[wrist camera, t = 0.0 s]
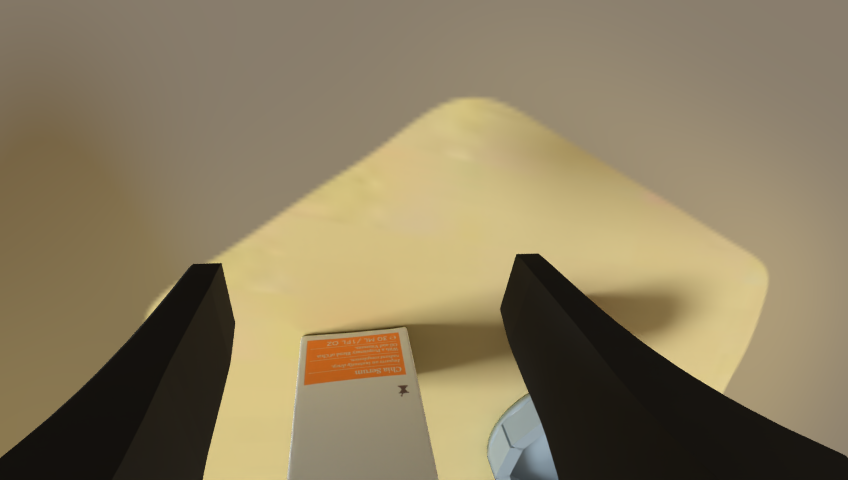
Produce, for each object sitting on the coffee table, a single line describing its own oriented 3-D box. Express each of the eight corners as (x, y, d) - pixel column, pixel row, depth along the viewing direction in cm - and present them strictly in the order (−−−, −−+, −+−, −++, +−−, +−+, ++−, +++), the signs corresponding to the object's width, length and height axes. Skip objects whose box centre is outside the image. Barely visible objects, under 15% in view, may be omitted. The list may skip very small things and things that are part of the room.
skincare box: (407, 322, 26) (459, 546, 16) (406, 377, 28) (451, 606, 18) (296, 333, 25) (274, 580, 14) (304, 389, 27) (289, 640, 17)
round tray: (550, 501, 38) (563, 530, 36) (453, 452, 32) (462, 484, 30) (668, 415, 35) (690, 442, 33) (584, 346, 29) (603, 374, 27)
